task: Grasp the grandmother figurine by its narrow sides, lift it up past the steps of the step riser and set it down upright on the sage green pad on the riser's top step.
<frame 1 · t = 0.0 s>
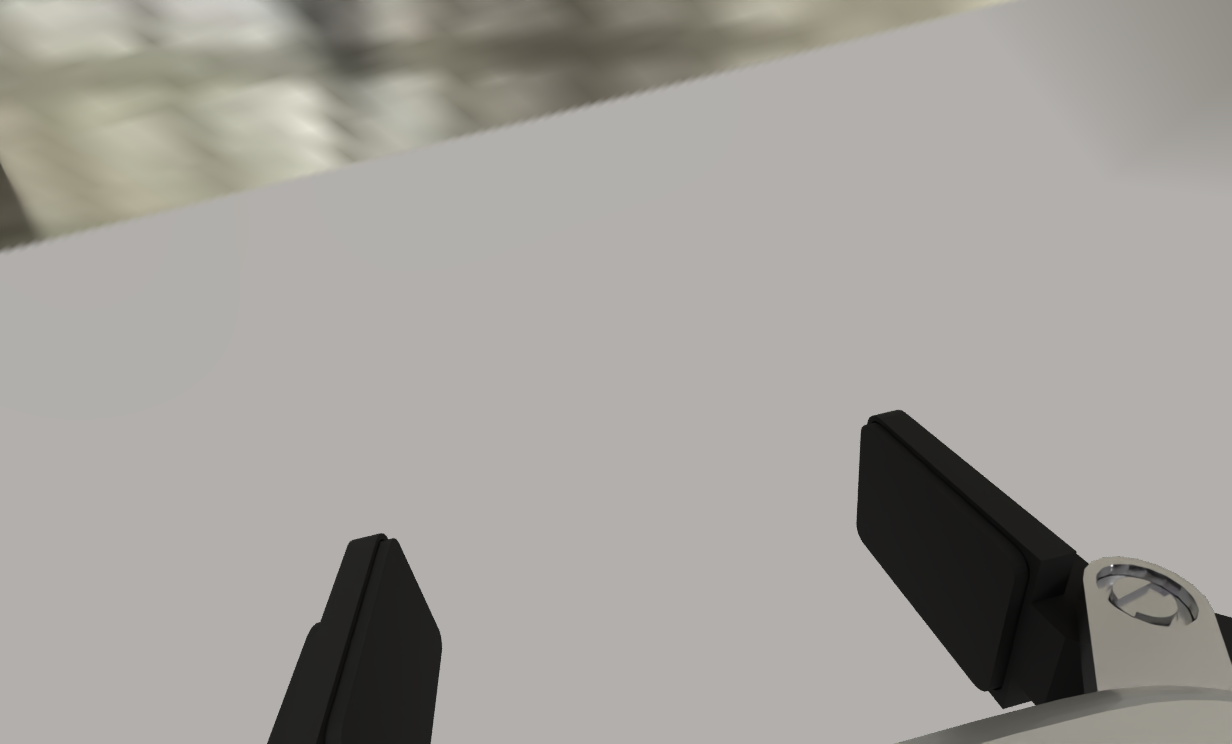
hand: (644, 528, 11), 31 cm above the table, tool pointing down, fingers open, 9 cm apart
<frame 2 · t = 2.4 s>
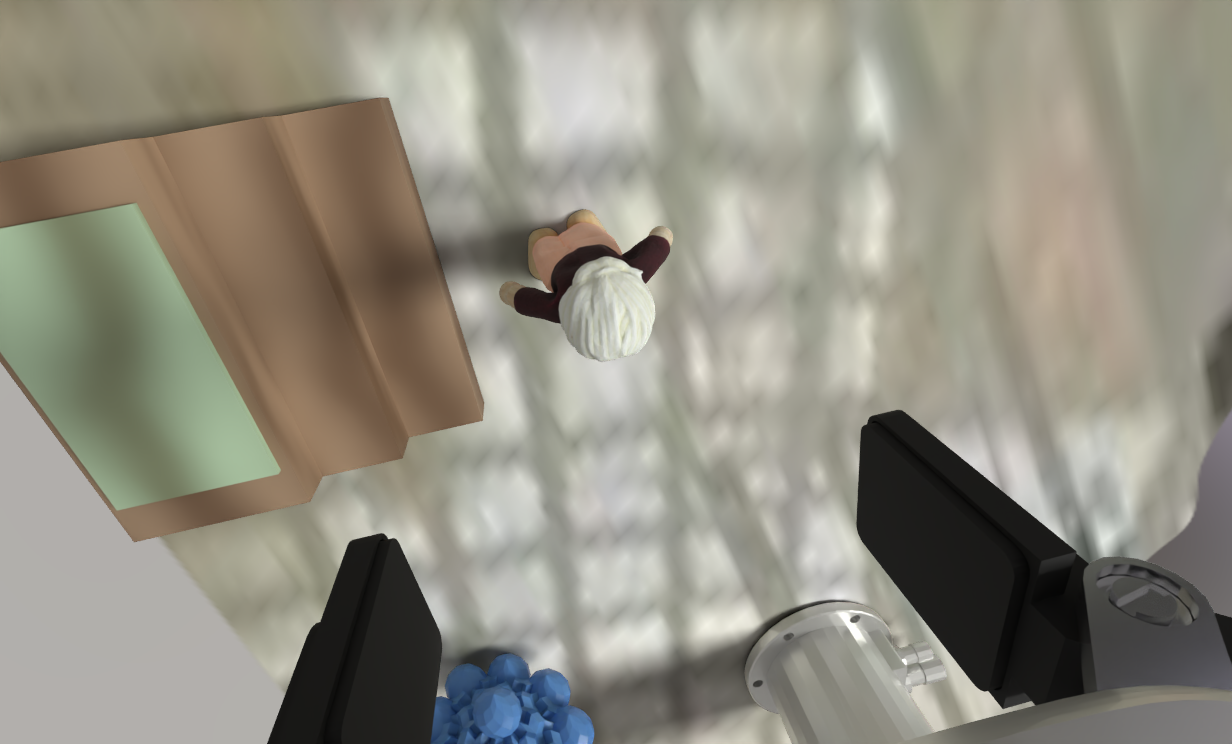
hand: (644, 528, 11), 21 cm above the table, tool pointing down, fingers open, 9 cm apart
grandmother figurine: (576, 241, 30), on the table
grapes: (503, 645, 42), on the table
step riser: (283, 302, 28), on the table
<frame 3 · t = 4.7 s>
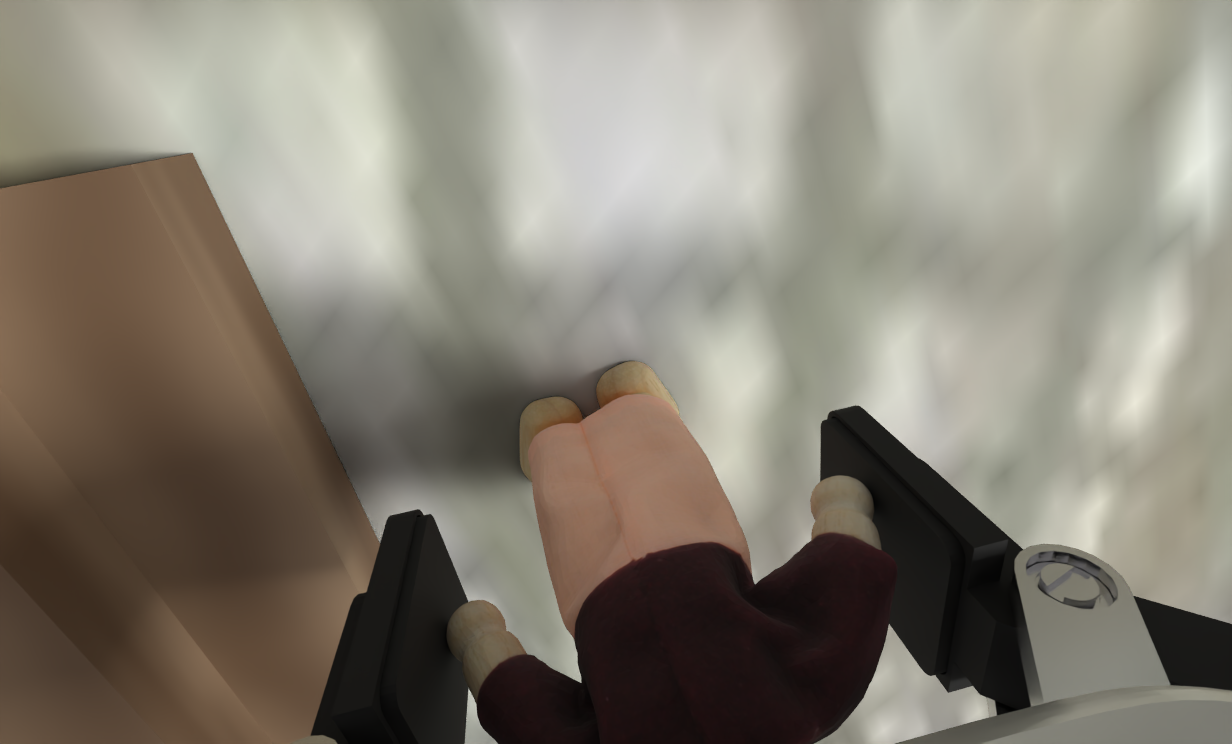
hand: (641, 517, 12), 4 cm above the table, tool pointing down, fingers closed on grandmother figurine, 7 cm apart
grandmother figurine: (612, 413, 15), on the table, touching gripper
step riser: (22, 553, 14), on the table
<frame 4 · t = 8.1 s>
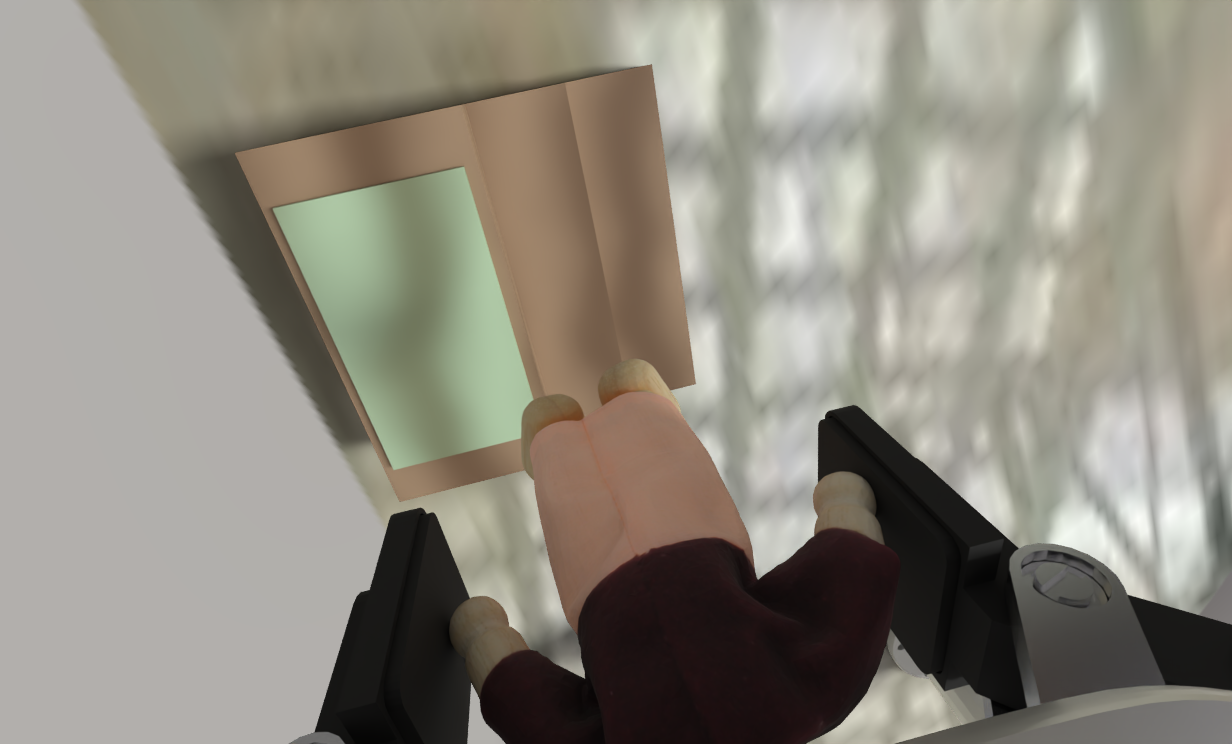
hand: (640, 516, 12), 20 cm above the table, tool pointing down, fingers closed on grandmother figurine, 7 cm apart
grandmother figurine: (614, 411, 15), point 16 cm above the table, touching gripper
step riser: (517, 270, 29), on the table
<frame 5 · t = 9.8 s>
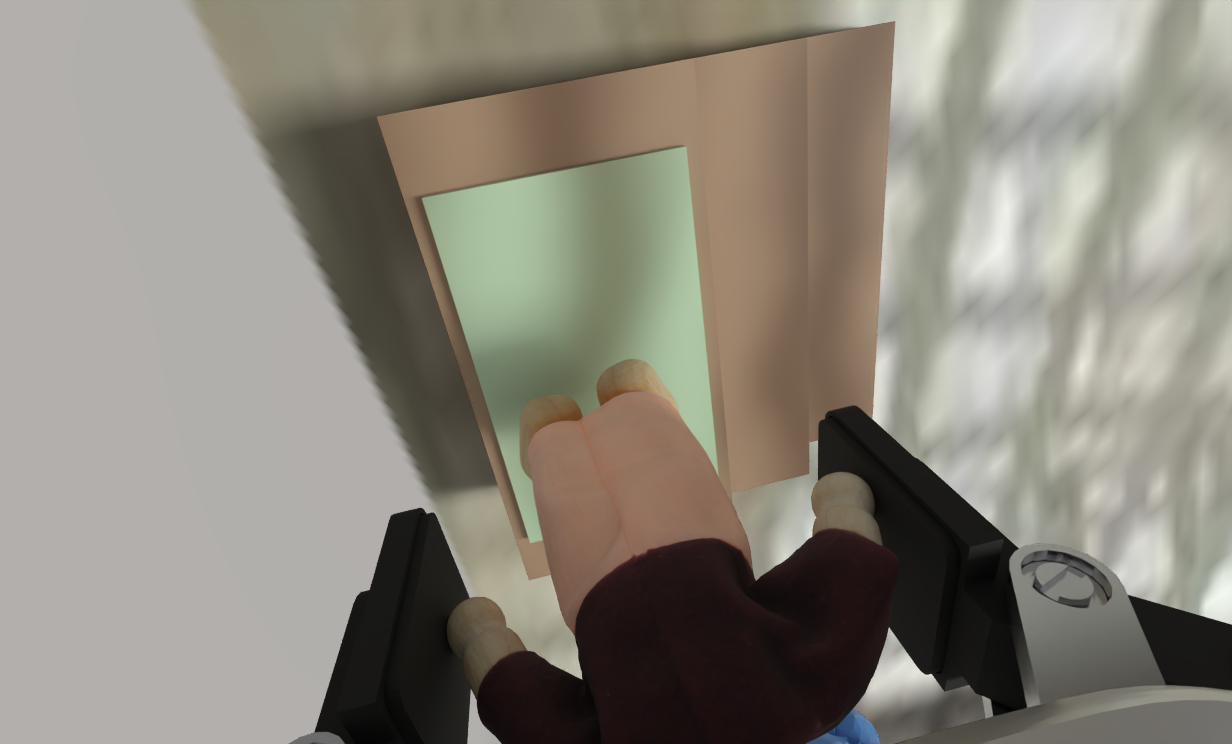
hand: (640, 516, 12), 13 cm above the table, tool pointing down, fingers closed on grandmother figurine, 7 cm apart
grandmother figurine: (612, 411, 15), point 9 cm above the table, touching gripper
grapes: (779, 678, 37), on the table
step riser: (671, 285, 23), on the table
when the fingers open (11 cm above the table, at t = 11.2 s): grandmother figurine stays where it is, resting on step riser.
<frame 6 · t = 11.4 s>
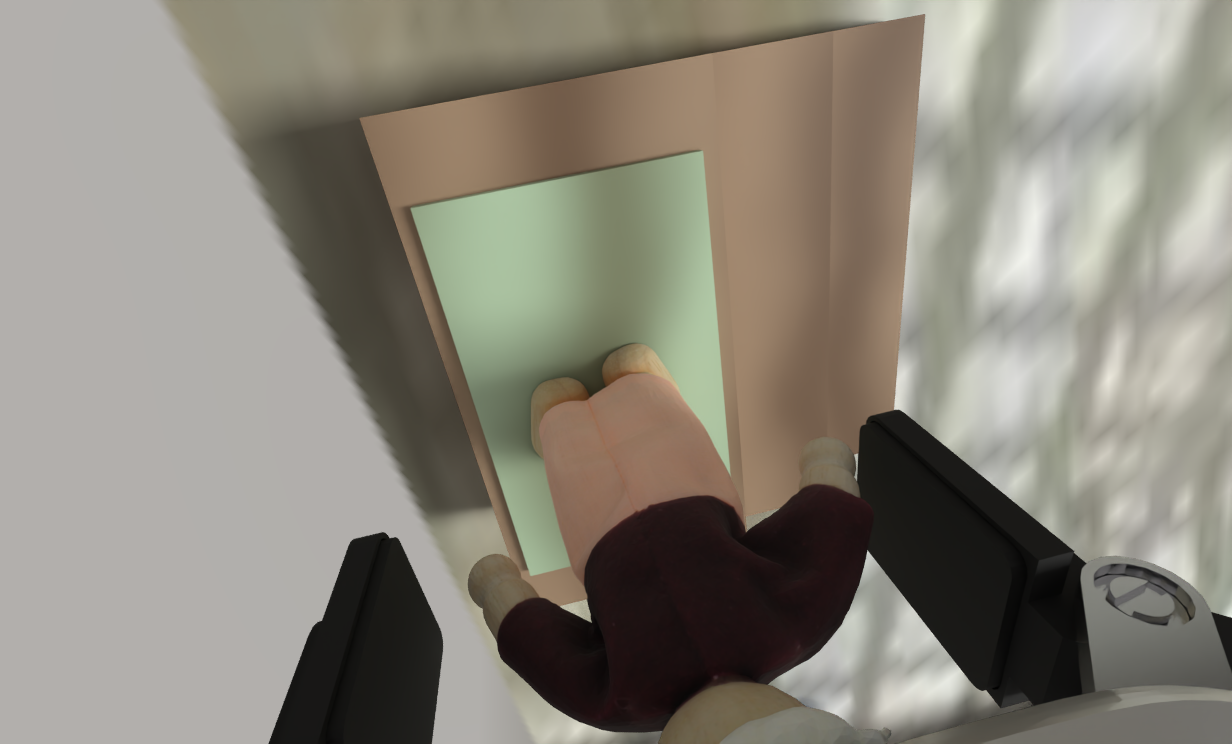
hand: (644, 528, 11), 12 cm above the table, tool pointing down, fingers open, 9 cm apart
grandmother figurine: (617, 394, 16), point 6 cm above the table, touching step riser
step riser: (680, 296, 22), on the table
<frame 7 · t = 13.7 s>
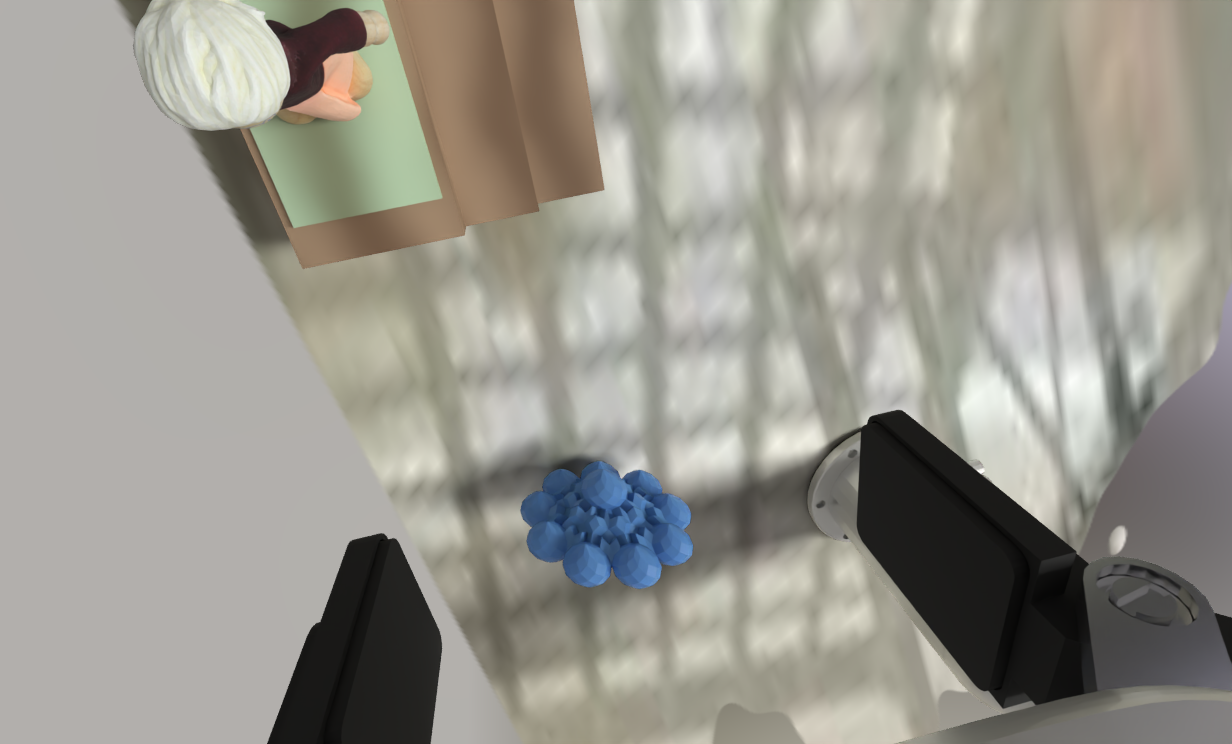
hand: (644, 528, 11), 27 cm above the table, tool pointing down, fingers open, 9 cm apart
grandmother figurine: (329, 73, 24), point 6 cm above the table, touching step riser
grapes: (592, 456, 44), on the table
step riser: (425, 59, 30), on the table
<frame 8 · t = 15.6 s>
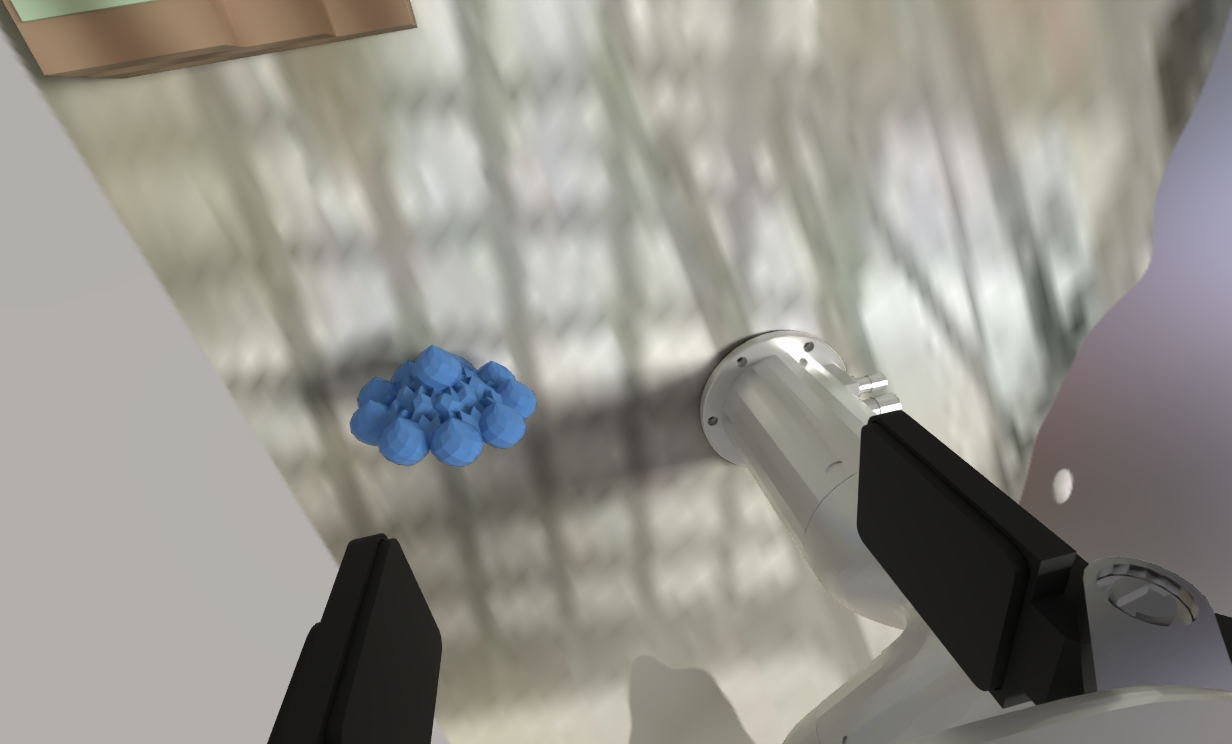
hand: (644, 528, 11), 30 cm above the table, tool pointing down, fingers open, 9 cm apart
grapes: (451, 354, 41), on the table
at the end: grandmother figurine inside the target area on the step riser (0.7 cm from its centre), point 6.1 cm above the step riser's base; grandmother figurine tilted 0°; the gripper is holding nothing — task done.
